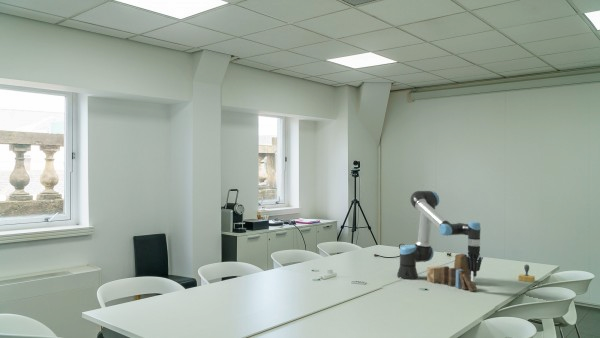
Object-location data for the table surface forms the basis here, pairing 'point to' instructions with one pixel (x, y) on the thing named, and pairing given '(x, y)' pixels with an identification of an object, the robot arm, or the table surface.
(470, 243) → the robot arm
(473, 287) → the domino
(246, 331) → the table surface
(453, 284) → the domino
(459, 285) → the domino
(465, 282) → the domino
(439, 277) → the end block
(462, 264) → the bread loaf
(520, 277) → the rubber stamp
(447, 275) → the domino
